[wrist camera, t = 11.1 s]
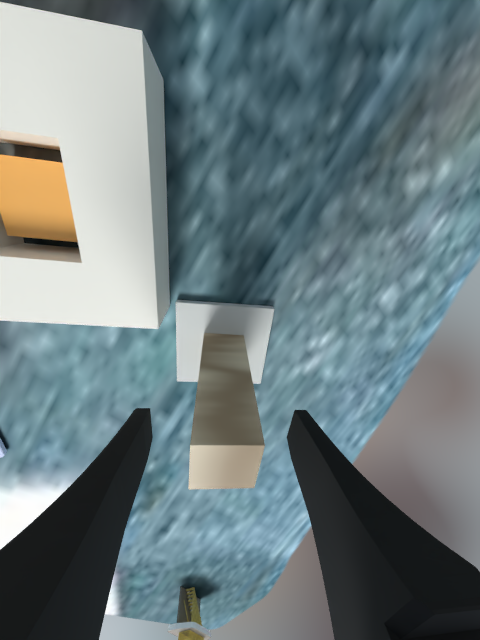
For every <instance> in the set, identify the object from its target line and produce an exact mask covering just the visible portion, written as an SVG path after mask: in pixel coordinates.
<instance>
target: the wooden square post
mask: <svg viewBox="0 0 480 640" xmlns="http://www.w3.org/2000/svg"><path fill="white" fill-rule="evenodd" d="M264 447H265V444H264V439H263V434H262V428H261V423H260V418H259V413H258V407H257V402H256V397H255V392H254V386H253V381H252V376H251V371H250V365H249V360H248V355H247V350H246V344H245V339H244V335H231V334H215V333H204V337H203V345H202V353H201V361H200V369H199V378H198V386H197V394H196V402H195V410H194V418H193V426H192V434H191V443H190V464H189V489H228V488H254V487H255V483H256V479H257V475H258V471H259V467H260V463H261V459H262V455H263V451H264Z"/></svg>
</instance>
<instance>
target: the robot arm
mask: <svg viewBox="0 0 480 640" xmlns="http://www.w3.org/2000/svg"><path fill="white" fill-rule="evenodd" d="M287 440H288V445H289V450H290V455H291V459H292V463H293V466H294V469H295V472H296V475H297V479H298V482H299V485H300V488H301V491H302V494H303V497H304V501H305V504H306V507H307V510H308V514H309V517H310V521H311V525H312V529H313V534H314V538H315V542H316V547H317V551H318V556H319V560H320V565H321V570H322V574H323V579H324V585H325V590H326V594H327V600H328V605H329V610H330V616H331V621H332V627H333V633H334V639H335V640H480V572H479V571H478V569H477V568H476V567H475V566H473V565H472V564H470V563H469V562H468V561H466V560H465V559H464V558H462V557H461V556H459V555H458V554H457V553H455V552H454V551H452V550H451V549H449V548H448V547H447V546H445V545H444V544H443V543H441V542H440V541H438V540H437V539H436V538H435V537H433V536H432V535H431V534H430V533H428V532H427V531H426V530H424V529H423V528H422V527H421V526H419V525H418V524H417V523H415V522H414V521H413V520H412V519H411V518H409V517H408V516H407V515H406V514H405V513H403V512H402V511H401V510H400V509H399V508H398V507H396V506H395V505H394V504H393V503H392V502H391V501H389V500H388V499H387V498H386V497H385V496H384V495H383V494H382V493H381V492H379V491H378V490H377V489H376V488H375V487H374V486H373V485H372V484H371V483H370V482H369V481H368V480H367V479H366V478H365V477H363V475H362V474H361V473H360V472H359V471H358V470H357V469H356V468H355V467H354V466H353V465H352V464H351V463H350V462H349V461H348V460H347V458H346V457H345V456H344V455H343V454H342V453H341V452H340V451H339V449H338V448H337V447H336V446H335V445H334V444H333V442H332V441H331V440H330V439H329V438H328V437H327V435H326V434H325V433H324V432H323V430H322V429H321V428H320V427H319V426H318V424H317V423H316V422H315V421H314V419H313V418H312V417H311V416H310V414H309V413H308V412H307V411H306V410H295V411H294V414H293V418H292V421H291V425H290V428H289V432H288V435H287ZM151 442H152V426H151V415H150V408H136V409H135V410H134V411H133V413H132V414H131V415H130V417H129V418H128V420H127V421H126V422H125V424H124V425H123V426H122V427H121V429H120V430H119V431H118V433H117V434H116V435H115V436H114V438H113V439H112V440H111V441H110V442H109V444H108V445H107V446H106V447H105V448H104V450H103V451H102V452H101V453H100V454H99V455H98V457H97V458H96V459H95V460H94V461H93V462H92V463H91V464H90V465H89V467H88V468H87V469H86V470H85V471H84V472H83V473H82V474H81V475H80V476H79V477H78V478H77V480H76V481H75V482H74V483H73V484H72V485H71V486H70V487H69V488H68V489H67V490H66V491H65V492H64V493H63V494H62V495H61V496H60V497H59V498H58V499H57V500H56V501H55V502H53V503H52V504H51V505H50V506H49V507H48V508H47V509H46V510H45V511H44V512H43V513H42V514H41V515H40V516H39V517H37V518H36V519H35V520H34V521H33V522H32V523H31V524H30V525H29V526H27V527H26V528H25V529H24V530H23V531H22V532H21V533H20V534H18V535H17V536H16V537H15V538H14V539H12V540H11V541H10V542H9V543H8V544H7V545H5V546H4V547H3V548H2V549H1V550H0V640H99V636H100V631H101V627H102V623H103V618H104V614H105V610H106V605H107V601H108V596H109V592H110V588H111V584H112V580H113V575H114V571H115V567H116V563H117V559H118V555H119V551H120V547H121V543H122V539H123V535H124V531H125V527H126V524H127V521H128V517H129V514H130V511H131V508H132V505H133V502H134V499H135V496H136V493H137V490H138V487H139V484H140V481H141V478H142V475H143V472H144V469H145V466H146V463H147V460H148V455H149V451H150V447H151ZM6 453H7V450H6V448H5V446H4V444H3V442H2V440H1V438H0V457H3V456H4V455H5V454H6Z"/></svg>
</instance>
